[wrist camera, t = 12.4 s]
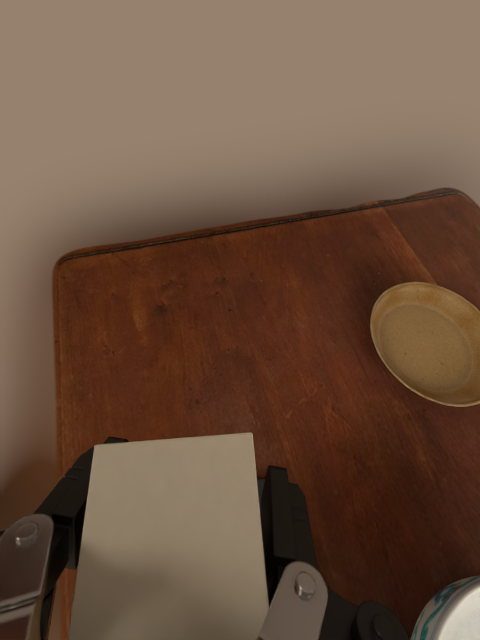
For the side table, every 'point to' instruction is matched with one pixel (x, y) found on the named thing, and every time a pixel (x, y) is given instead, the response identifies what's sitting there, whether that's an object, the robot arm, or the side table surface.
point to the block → (172, 543)
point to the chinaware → (451, 613)
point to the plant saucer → (429, 341)
